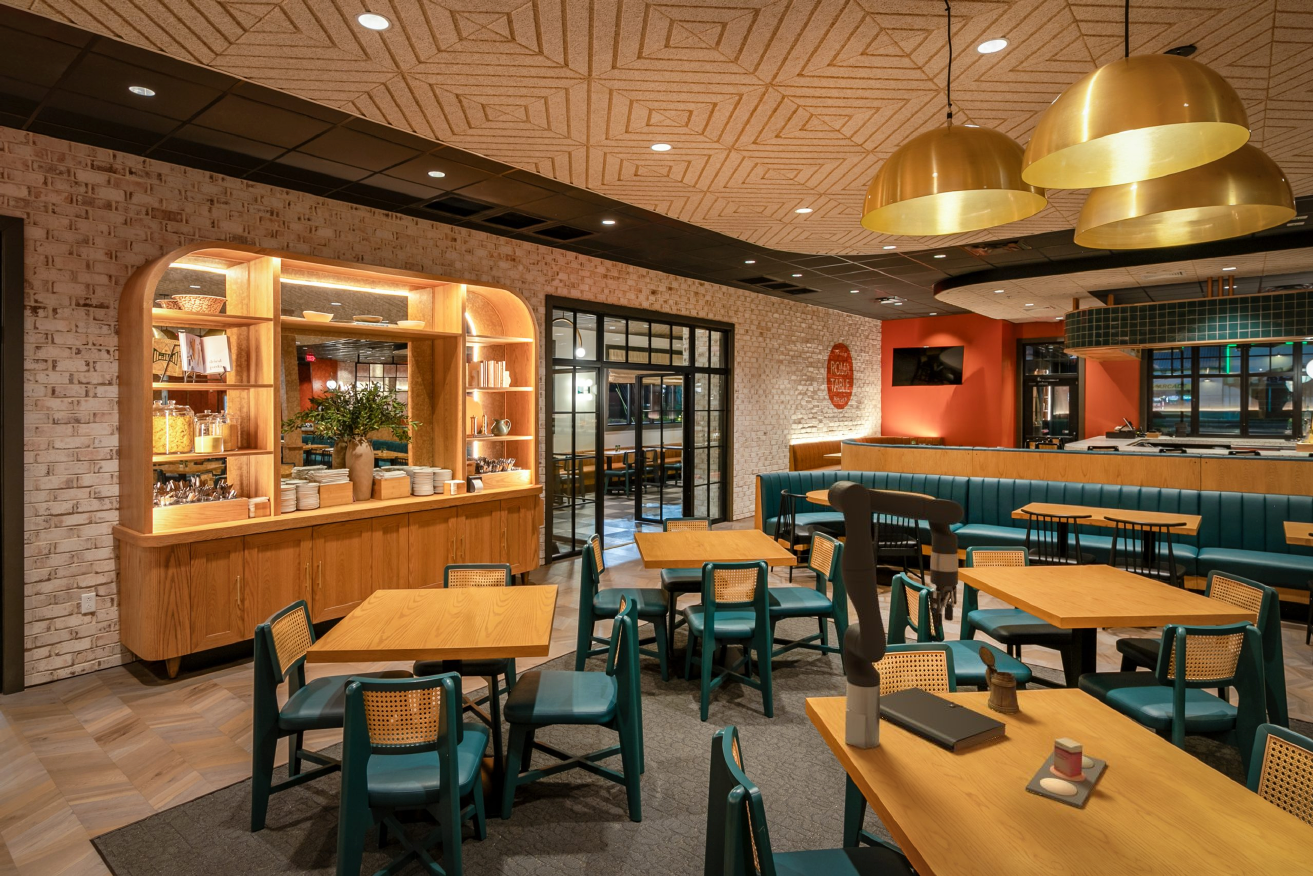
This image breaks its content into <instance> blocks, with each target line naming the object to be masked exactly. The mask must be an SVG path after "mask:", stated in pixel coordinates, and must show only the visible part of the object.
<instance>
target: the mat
mask: <svg viewBox="0 0 1313 876" xmlns="http://www.w3.org/2000/svg"><path fill="white" fill-rule="evenodd" d="M1105 765H1106V766H1107V761H1106V760H1103V759H1099V758H1096V757H1092V756H1089V755H1086V754H1082V775H1078V776H1074V777H1069V776H1067V775H1065V774H1063V773H1061V772H1059V771H1057V770H1055V769H1054V750H1052V752H1051V753H1050V755H1049V756H1048V757H1047V758H1046V759H1045V761H1044V762H1043V764H1042V765H1041V767H1040V768H1039V769H1038V770H1037V771H1036V773H1035V774H1034V775H1033V777H1032V778H1031V779H1030V781H1029V782H1028V783H1027V785H1025V791H1026V790H1029V791H1031V792H1030V793H1032V792H1034V793H1033V794H1035V793H1037V794H1036V795H1038V794H1041V795H1040V796H1042V795H1044V796H1043V797H1045V798H1048V797H1049V798H1048V799H1052V800H1055V801H1057V802H1060V803H1063V804H1066V805H1070V806H1072V807H1075V808H1078V807H1079V809H1082V807H1083V805H1084V804H1085V802H1086V800H1087V799H1088V796H1089V795H1090V793H1091V792H1092V790H1093V788H1094V786H1095V785H1094V784H1096V783H1095V782H1098V779H1099V778H1100V776H1101V775H1102V773H1101V772H1103V771H1102V770H1104V769H1105V767H1106V766H1105ZM1099 775H1100V776H1099ZM1098 777H1099V778H1098ZM1091 789H1092V790H1091ZM1029 791H1028V792H1029ZM1090 791H1091V792H1090Z"/></svg>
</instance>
